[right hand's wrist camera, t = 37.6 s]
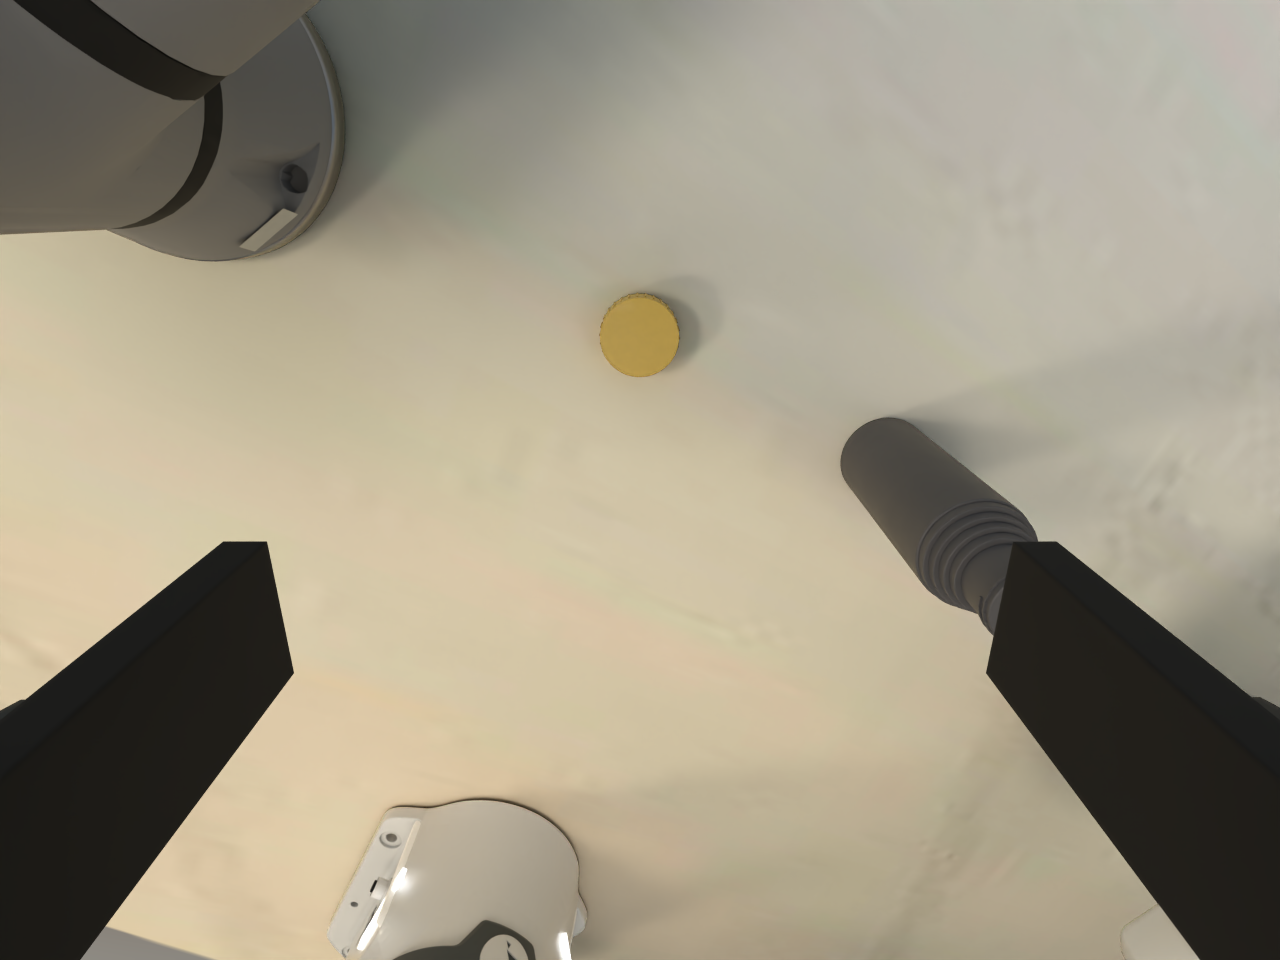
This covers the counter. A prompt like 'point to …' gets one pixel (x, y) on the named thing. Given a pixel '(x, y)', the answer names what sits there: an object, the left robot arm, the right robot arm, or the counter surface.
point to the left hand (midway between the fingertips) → (1250, 792)
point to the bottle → (936, 514)
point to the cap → (639, 335)
